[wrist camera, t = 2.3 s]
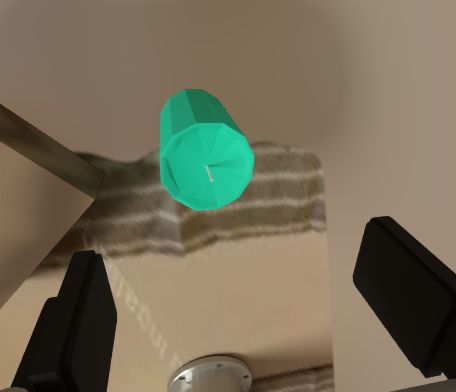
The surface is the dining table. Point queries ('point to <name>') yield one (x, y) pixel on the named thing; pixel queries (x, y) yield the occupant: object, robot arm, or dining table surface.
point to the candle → (202, 151)
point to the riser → (36, 197)
